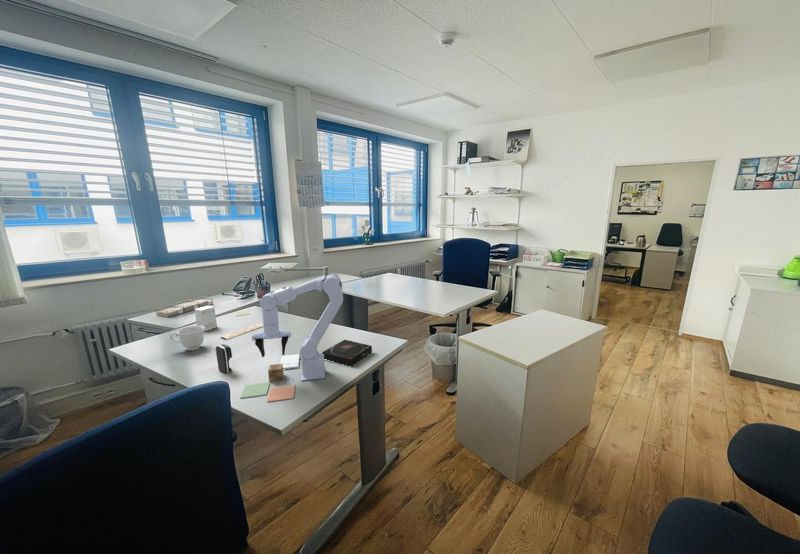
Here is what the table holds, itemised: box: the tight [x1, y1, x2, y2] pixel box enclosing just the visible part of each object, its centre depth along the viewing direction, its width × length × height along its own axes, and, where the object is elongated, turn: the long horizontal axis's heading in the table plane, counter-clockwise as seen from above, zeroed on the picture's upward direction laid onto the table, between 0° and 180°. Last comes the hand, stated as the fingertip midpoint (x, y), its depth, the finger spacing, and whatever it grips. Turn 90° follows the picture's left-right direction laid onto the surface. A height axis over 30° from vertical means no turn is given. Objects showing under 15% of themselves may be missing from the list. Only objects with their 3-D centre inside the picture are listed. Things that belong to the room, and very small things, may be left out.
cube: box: [267, 363, 284, 383], centre depth 132 cm, size 5×5×5 cm
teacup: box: [169, 325, 205, 351], centre depth 160 cm, size 12×15×10 cm
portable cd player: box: [321, 339, 373, 368], centre depth 152 cm, size 16×17×4 cm
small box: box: [194, 305, 218, 333], centre depth 187 cm, size 8×6×13 cm
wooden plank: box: [222, 323, 264, 340], centre depth 184 cm, size 24×7×2 cm, turn 150°
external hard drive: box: [279, 353, 301, 370], centre depth 145 cm, size 2×8×12 cm
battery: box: [215, 343, 233, 374], centre depth 138 cm, size 7×4×11 cm, turn 55°
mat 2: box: [266, 384, 296, 403], centre depth 121 cm, size 9×9×1 cm
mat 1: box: [240, 381, 271, 399], centre depth 123 cm, size 9×9×1 cm
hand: (273, 355), depth 130 cm, fingers open, 7 cm apart
